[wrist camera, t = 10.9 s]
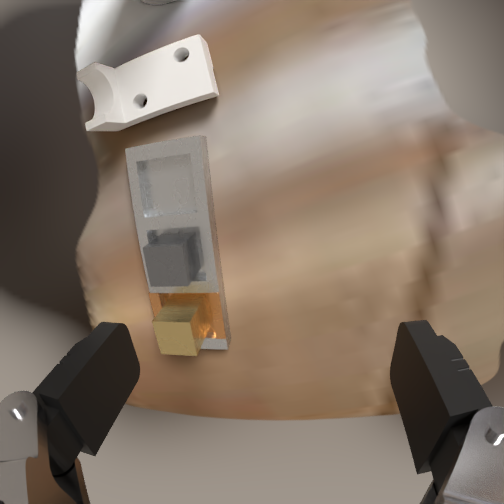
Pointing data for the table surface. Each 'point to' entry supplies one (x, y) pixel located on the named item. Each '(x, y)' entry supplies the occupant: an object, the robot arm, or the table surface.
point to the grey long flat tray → (180, 220)
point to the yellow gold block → (182, 325)
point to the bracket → (149, 84)
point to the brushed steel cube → (172, 259)
